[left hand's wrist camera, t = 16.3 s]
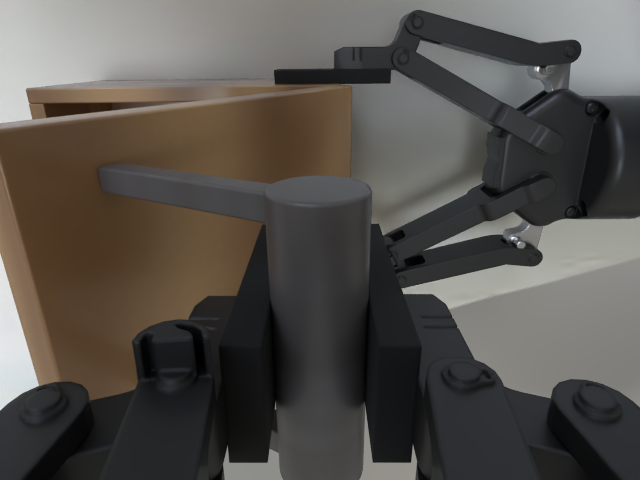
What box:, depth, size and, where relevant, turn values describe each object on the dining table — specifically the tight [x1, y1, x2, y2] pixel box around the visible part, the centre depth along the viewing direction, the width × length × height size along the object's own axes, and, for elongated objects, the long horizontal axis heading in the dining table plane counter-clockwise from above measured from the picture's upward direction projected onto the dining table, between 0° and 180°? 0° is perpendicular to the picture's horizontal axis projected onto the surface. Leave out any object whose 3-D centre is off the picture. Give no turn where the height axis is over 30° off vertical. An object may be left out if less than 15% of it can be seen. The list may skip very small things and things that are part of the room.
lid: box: [0, 85, 372, 480], centre depth 17 cm, size 17×9×9 cm
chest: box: [26, 79, 341, 120], centre depth 30 cm, size 17×9×9 cm, turn 91°
